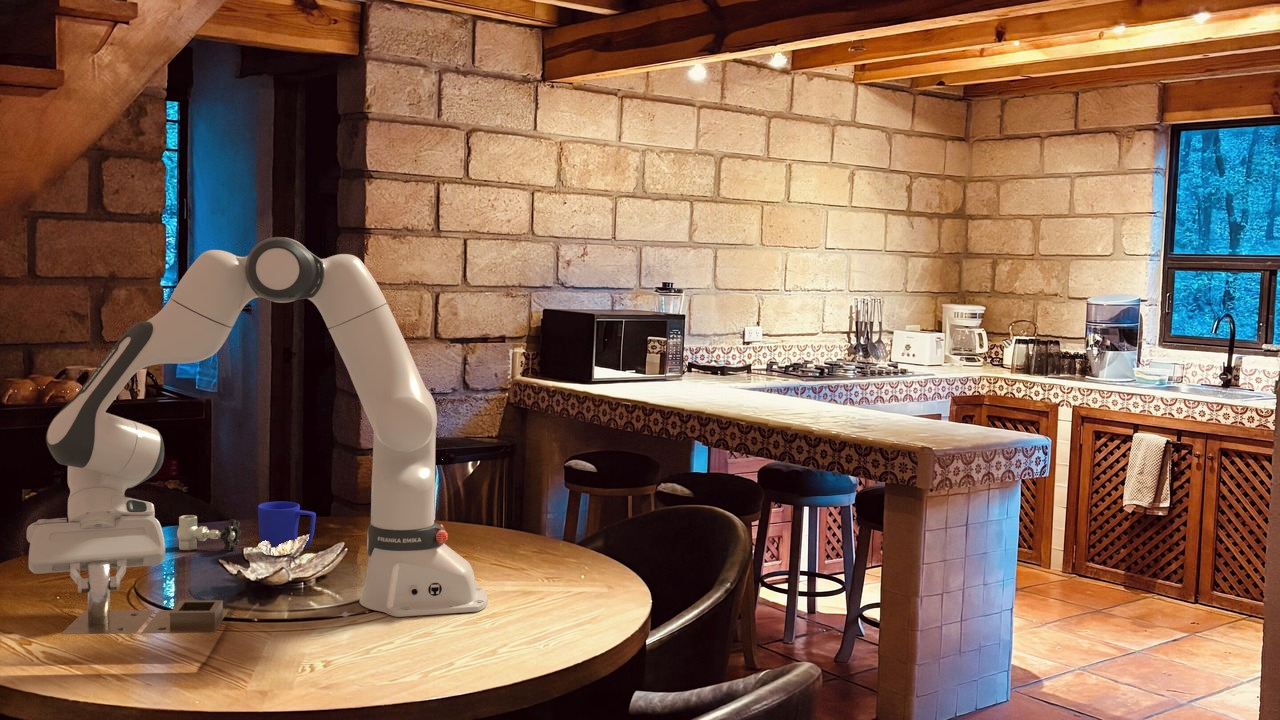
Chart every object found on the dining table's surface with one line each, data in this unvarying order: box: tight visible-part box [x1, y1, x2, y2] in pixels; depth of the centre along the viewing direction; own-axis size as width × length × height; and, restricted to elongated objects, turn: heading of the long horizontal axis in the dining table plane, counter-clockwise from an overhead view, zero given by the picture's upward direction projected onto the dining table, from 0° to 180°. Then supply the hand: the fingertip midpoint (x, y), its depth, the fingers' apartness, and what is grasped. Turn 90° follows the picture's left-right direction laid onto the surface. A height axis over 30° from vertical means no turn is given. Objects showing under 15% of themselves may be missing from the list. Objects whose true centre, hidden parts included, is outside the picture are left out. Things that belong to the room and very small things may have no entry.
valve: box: [176, 514, 242, 552], centre depth 241 cm, size 7×7×12 cm
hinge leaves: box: [60, 599, 229, 635], centre depth 190 cm, size 23×12×4 cm, turn 99°
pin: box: [87, 562, 111, 625], centre depth 188 cm, size 3×3×9 cm
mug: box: [257, 501, 317, 549], centre depth 239 cm, size 8×12×10 cm
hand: (99, 590), depth 188 cm, fingers closed on pin, 3 cm apart
